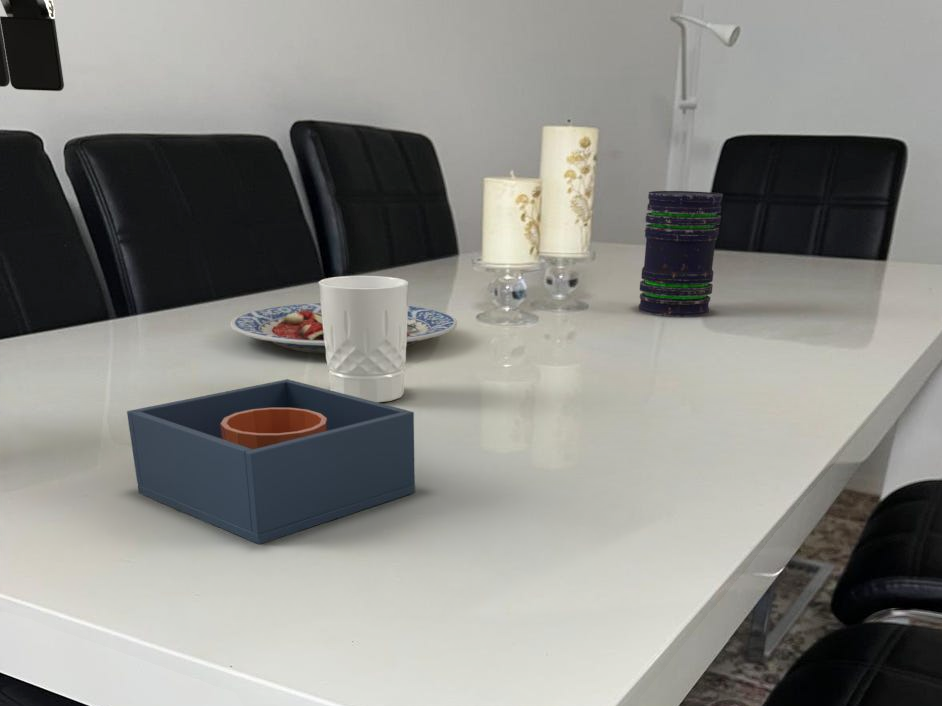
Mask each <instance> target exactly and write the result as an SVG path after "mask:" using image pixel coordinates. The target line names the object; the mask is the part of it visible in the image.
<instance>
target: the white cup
mask: <svg viewBox="0 0 942 706" xmlns="http://www.w3.org/2000/svg"><path fill="white" fill-rule="evenodd" d="M318 292H319V299H320V300H319V303H321V313H322V324H323V335H324V343H325V348H326V354H325V360H326V363H327V364H326V365H327V368H328V382H329V390H331V391H335V392H339V393H343V394H346V395H350V396H354V397H358V398H362V399H366V400H369V401H373V402H377V403H386V402H391V401H394V400H398V399H400V398H402V396H403V395H404V394H405V369H404V368H405V366H406V361H407V347H406V343H407V315H408V306H409V281H408V280H406V279H402V278H399V277H391V276H381V275H345V276H344V275H343V276H334V277H328V278H327V277H326V278H323V279H321V280H319V281H318Z"/></svg>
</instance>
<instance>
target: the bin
mask: <svg viewBox="0 0 942 706" xmlns="http://www.w3.org/2000/svg"><path fill="white" fill-rule="evenodd" d="M261 408H298V409H307V410H311V411H314V412H318V413H321V414H322V415H323V416H325V417H326V418H327V426H328V431H325V432H321V433H317V434H313V435H309V436H305V437H301V438H297V439H293V440H289V441H285V442H281V443H277V444H273V445H269V446H265V447H261V448H257V449H250V448H247V447H244V446H241V445H238V444H235V443H232V442H229V441H226V440H223V439H222V435H221V425H220V423H221V422H222V420H223V419H224V418H225V417H227V416H229V415H232V414H234V413H237V412H242V411H246V410H252V409H261ZM126 416H127V422H128V429H129V435H130V442H131V449H132V456H133V465H134V470H135V477H136V478H135V479H136V484H137V491H138V494H140V495H142V496H145V497H147V498H150V499H151V500H154V501H156V502H158V503H161V504H163V505H166V506H168V507H169V508H172V509H175V510H177V511H181V512H182V513H185V514H186V515H189V516H191V517H194V518H197V519H199V520H201V521H203V522H206V523H208V524H210V525H212V526H215V527H218V528H220V529H223V530H225V531H227V532H229V533H231V534H232V533H233V534H234V535H237V536H239V537H241V538H244V539H246V540H248V541H251V542H253V543H256V544H258V545H261V544H264V543H266V542H269V541H273V540H276V539H279V538H282V537H284V536H285V537H286V536H288V535H292V534H294V533H298V532H300V531H303V530H307V529H309V528H313V527H315V526H318V525H322V524H324V523H327V522H330V521H334V520H337V519H340V518H342V517H345V516H348V515H351V514H355V513H358V512H361V511H364V510H367V509H369V508H372V507H375V506H378V505H382V504H385V503H388V502H391V501H394V500H397V499H400V498H403V497H406V496H409V495H411V494H415V492H416V485H415V484H416V483H415V478H416V477H415V412H414V411H411V410H408V409H404V408H400V407H396V406H392V405H388V404H385V403H382V402H379V403H377V402H373V401H369V400H366V399H362V398H358V397H354V396H350V395H346V394H343V393H339V392H335V391H331V390H330V389H327V388H323V387H320V386H317V385H316V386H315V385H313V384H312V385H311V384H307V383H304V382H300V381H296V380H292V379H288V378H286V379H282V380H276V381H271V382H266V383H261V384H255V385H251V386H246V387H241V388H236V389H230V390H225V391H221V392H217V393H210V394H206V395H201V396H196V397H190V398H186V399H180V400H176V401H171V402H165V403H160V404H157V405H151V406H147V407H141V408H135V409H130V410H127V411H126Z"/></svg>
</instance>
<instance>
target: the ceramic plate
mask: <svg viewBox="0 0 942 706" xmlns="http://www.w3.org/2000/svg"><path fill="white" fill-rule="evenodd" d="M457 326H458V321H457V319H456V318H455V317H453V316H452V315H450V314H447V313H445V312H442V311H438V310H434V309H430V308H426V307H425V308H424V307H421V306H413V305H408V315H407V343H406V348H407V347H410V346H413V345H415V344H417V343H418V342H420V341H424V340H428V339H433V338H437V337H441V336H443V335H446V334H448V333H451V332H453V330H455V329H456V328H457ZM230 327H231V329H232V330H233V331H235V332H236V333H238V334H239V335H242V336H245V337H250V338H253V339H255V340H261V341H268V342H271V343H273V344H275V345H277V346H279V347H282V348H285V349H289V350H293V351H298V352H303V353H305V352H306V353H314V354H324V355H326V348H325V343H324V335H323V324H322V313H321V303H320V302H317V303H316V302H315V303H312V302H311V303H301V304H300V303H299V304H288V305H287V304H286V305H280V306H274V307H272V306H271V307H267V308H261V309H256V310H255V309H254V310H252V311H248V312H245V313H242V314H239V315H237V316H235V317H234V318H233V319H232V320H231V321H230Z"/></svg>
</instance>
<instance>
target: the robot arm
mask: <svg viewBox="0 0 942 706" xmlns="http://www.w3.org/2000/svg"><path fill="white" fill-rule="evenodd" d="M0 2H1V5H2V7H3V10H4V12H5V15H6V16H3V15H2V16H0V87H1V88H2V87H3V88H4V87H5V88H6V87H7V86H9V84H10V85H11V87H12V88H13V89H15V90H18V91H19V90H22V91H46V92H47V91H49V92H61V91H63V90H64V87H65V82H64V73H63V69H62V61H61V60H62V59H61V53H60V46H59V40H58V33H57V25H56V19H55V7H54V3H53V0H0Z"/></svg>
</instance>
